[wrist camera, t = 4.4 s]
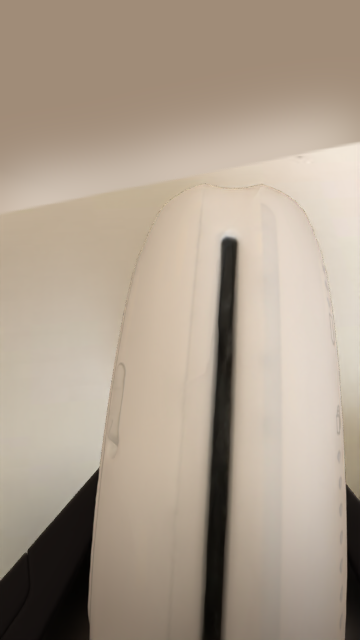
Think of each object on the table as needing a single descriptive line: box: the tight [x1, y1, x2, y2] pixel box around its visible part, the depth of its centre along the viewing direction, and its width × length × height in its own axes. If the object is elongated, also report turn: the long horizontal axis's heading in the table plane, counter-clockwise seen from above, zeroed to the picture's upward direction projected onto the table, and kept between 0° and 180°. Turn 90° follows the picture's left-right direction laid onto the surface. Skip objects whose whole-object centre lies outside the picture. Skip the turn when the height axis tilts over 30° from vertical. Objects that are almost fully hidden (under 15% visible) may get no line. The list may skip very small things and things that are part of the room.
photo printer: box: [88, 183, 347, 640], centre depth 10 cm, size 10×4×12 cm, turn 175°
